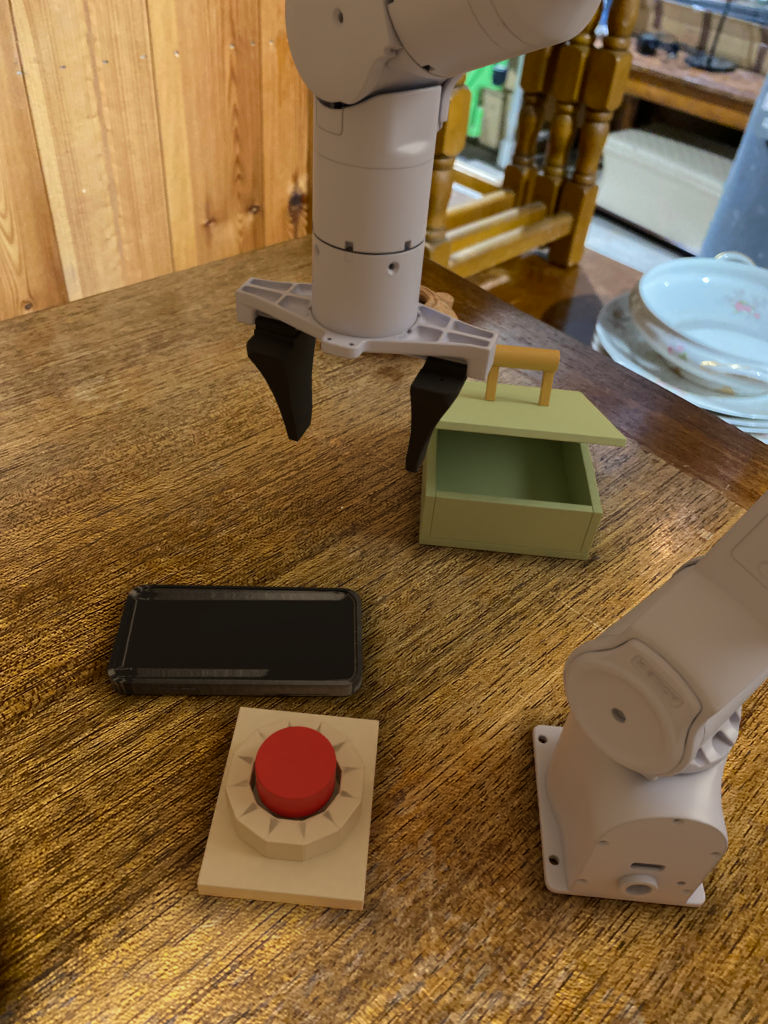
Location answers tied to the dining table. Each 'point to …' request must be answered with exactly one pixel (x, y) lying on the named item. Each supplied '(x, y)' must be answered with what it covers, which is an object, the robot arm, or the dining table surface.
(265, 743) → the release button
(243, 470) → the dining table surface
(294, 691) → the phone
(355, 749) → the block
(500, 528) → the compartment
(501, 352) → the compartment door
